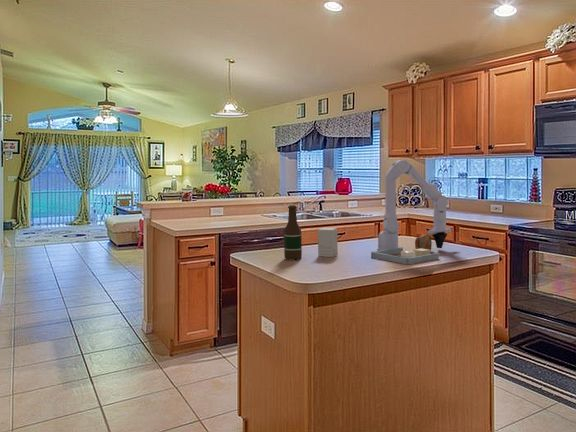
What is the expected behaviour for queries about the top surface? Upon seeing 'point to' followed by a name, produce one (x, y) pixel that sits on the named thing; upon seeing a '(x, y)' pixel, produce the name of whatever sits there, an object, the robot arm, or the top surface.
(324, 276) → the top surface
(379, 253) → the tray
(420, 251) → the kraft box
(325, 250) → the supplement box
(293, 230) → the beer bottle
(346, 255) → the top surface
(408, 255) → the white short round piece
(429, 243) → the tin
